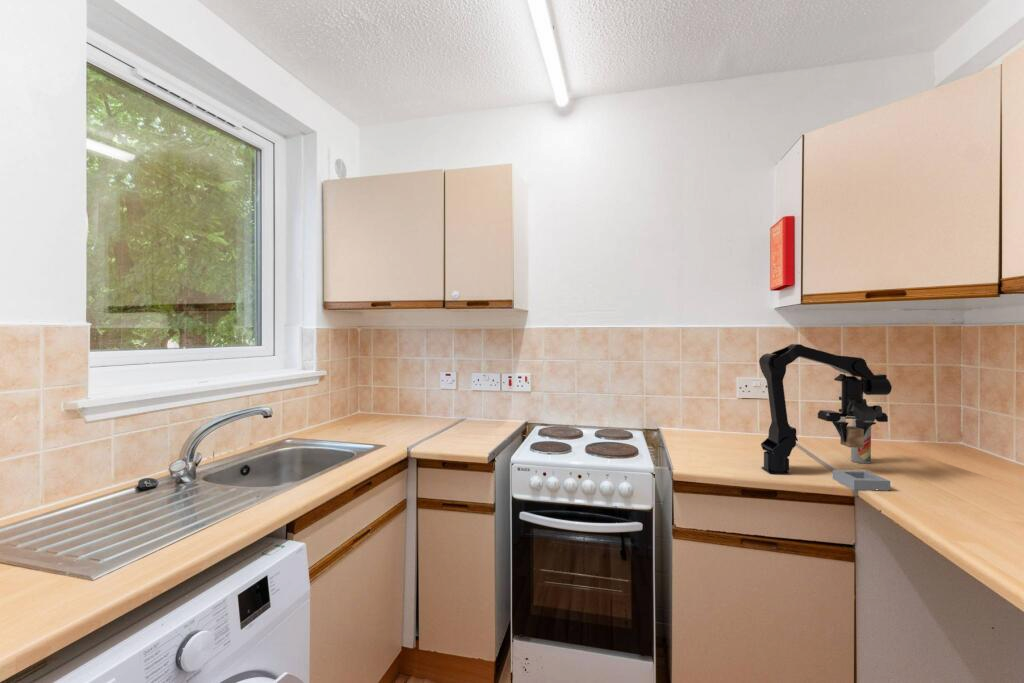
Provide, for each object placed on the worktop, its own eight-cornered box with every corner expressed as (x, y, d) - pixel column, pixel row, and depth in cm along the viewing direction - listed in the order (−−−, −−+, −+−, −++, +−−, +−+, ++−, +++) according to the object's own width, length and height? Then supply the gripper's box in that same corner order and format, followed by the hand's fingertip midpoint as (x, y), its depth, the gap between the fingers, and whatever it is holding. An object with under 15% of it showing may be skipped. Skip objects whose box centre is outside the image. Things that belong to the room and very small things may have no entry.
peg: (849, 447, 146) (849, 429, 146) (840, 444, 150) (840, 426, 150) (863, 447, 145) (863, 429, 145) (854, 444, 150) (854, 426, 150)
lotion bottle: (874, 464, 157) (874, 407, 157) (856, 463, 158) (856, 407, 158) (865, 459, 163) (865, 405, 163) (847, 459, 164) (847, 404, 164)
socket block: (854, 490, 132) (854, 480, 132) (832, 479, 142) (832, 469, 142) (890, 491, 131) (890, 481, 131) (866, 480, 141) (866, 470, 141)
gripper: (837, 398, 140) (837, 447, 140) (901, 398, 138) (901, 448, 139) (816, 393, 151) (816, 439, 151) (875, 393, 150) (875, 440, 150)
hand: (851, 441), depth 148 cm, fingers closed on peg, 4 cm apart
